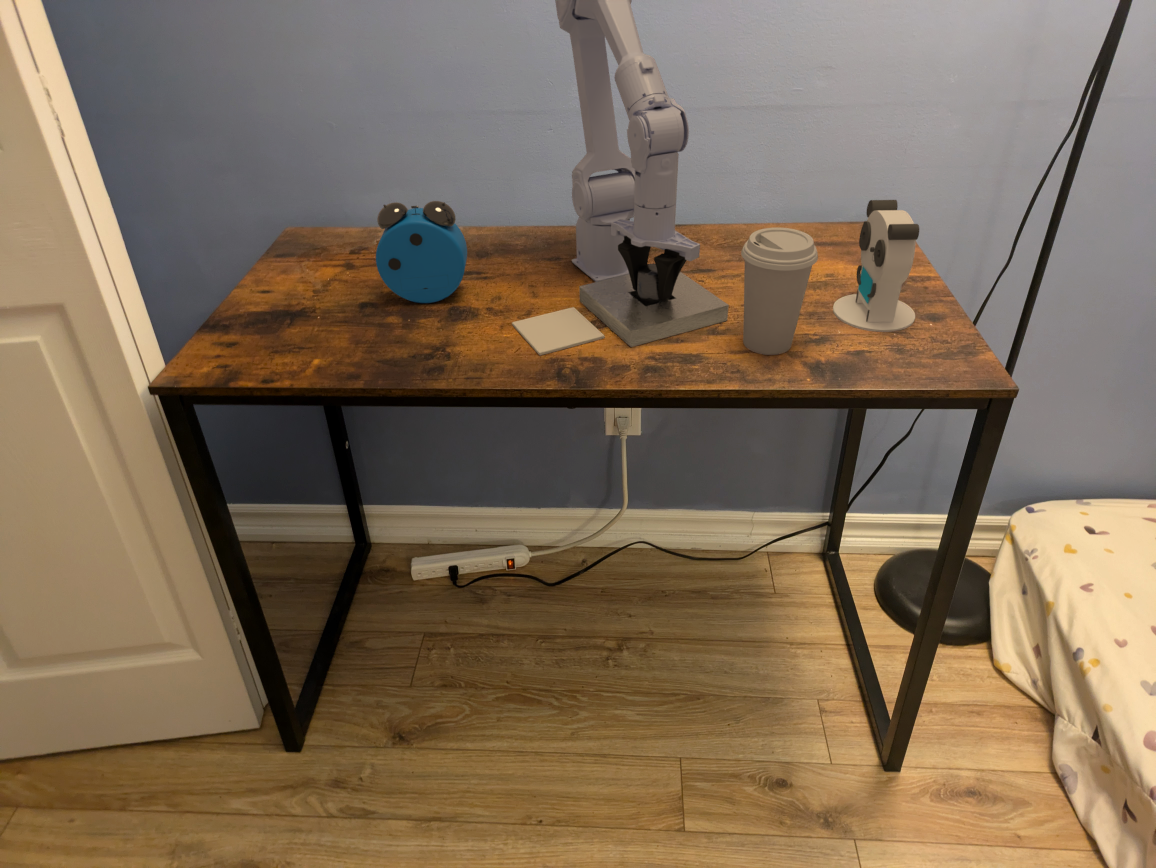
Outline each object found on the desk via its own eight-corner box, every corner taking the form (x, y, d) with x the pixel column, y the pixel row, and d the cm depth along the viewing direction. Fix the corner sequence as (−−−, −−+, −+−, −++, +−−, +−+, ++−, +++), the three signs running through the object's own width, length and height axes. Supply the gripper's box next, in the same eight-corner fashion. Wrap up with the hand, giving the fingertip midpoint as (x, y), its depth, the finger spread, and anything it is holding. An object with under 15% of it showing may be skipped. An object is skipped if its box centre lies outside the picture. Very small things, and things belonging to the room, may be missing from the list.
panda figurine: (824, 294, 117) (841, 197, 108) (899, 293, 116) (923, 196, 107) (843, 332, 107) (864, 229, 98) (925, 331, 107) (954, 228, 98)
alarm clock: (472, 286, 122) (461, 193, 113) (469, 303, 117) (457, 208, 108) (390, 289, 122) (372, 197, 113) (383, 307, 117) (364, 212, 108)
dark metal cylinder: (630, 311, 114) (631, 270, 110) (650, 301, 116) (651, 261, 112) (653, 320, 111) (654, 279, 107) (672, 310, 114) (674, 269, 110)
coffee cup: (727, 326, 109) (738, 225, 100) (795, 326, 109) (811, 224, 100) (736, 361, 101) (748, 255, 93) (809, 360, 101) (828, 254, 92)
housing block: (579, 301, 117) (579, 286, 115) (669, 279, 122) (669, 264, 121) (630, 347, 105) (631, 331, 104) (727, 320, 111) (728, 304, 109)
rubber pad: (512, 324, 111) (511, 322, 111) (573, 309, 115) (573, 306, 114) (539, 355, 104) (539, 353, 104) (604, 338, 107) (604, 335, 107)
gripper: (596, 197, 106) (597, 287, 114) (679, 222, 98) (674, 317, 106) (629, 184, 110) (628, 272, 118) (712, 207, 102) (704, 300, 110)
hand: (652, 292), depth 112 cm, fingers closed on dark metal cylinder, 4 cm apart
